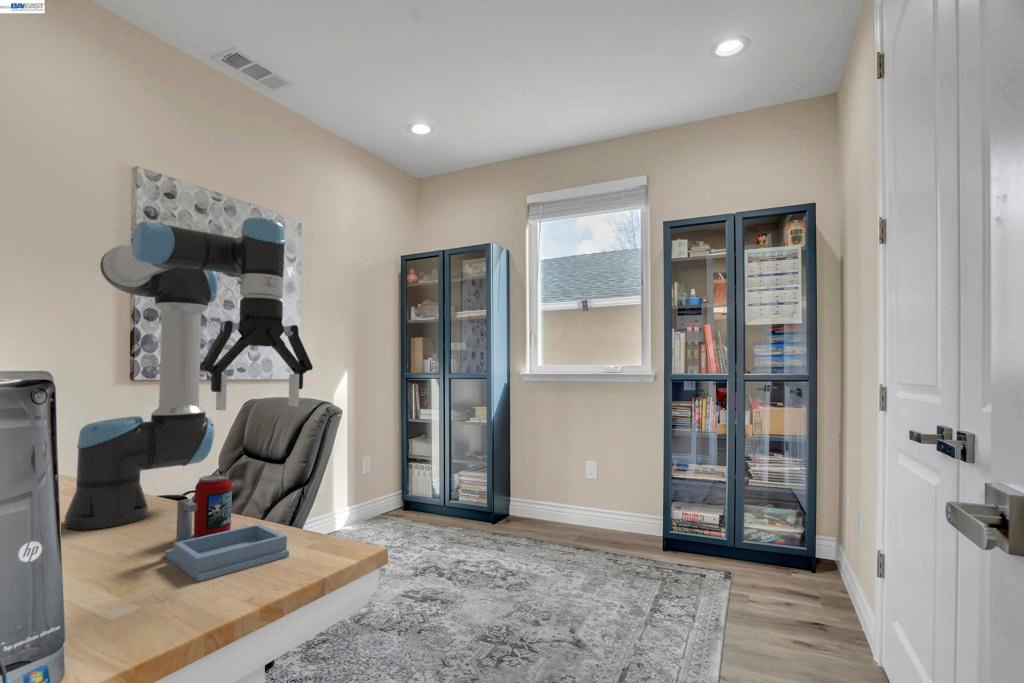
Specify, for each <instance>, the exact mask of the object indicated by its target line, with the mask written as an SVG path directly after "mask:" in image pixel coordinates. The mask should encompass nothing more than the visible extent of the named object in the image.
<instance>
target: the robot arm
mask: <svg viewBox="0 0 1024 683" xmlns="http://www.w3.org/2000/svg"><path fill="white" fill-rule="evenodd" d="M240 234H241V236H239V237H234V236H228V235H223V234H218V233H217V234H216V233H211V232H206V231H200V230H196V229H191V228H185V227H179V226H174V225H169V224H165V223H163V222H150V221H140V222H138V223H137V224H136V225H135V228H134V230H133V234H132V243H130V244H129V245H128V244H127V245H126V244H125V245H119V246H115V247H112V248H111V249H109V250H108V251H107V252H105V254H103V255H102V257H101V260H100V264H99V265H100V266H99V268H100V272H101V274H102V276H103V277H104V279H105V280H106V281H107V283H109V284H110V285H111V286H113V287H114V288H116V289H118V290H119V291H121V292H124V293H127V294H130V295H134V296H138V297H147V298H154V306H155V307H156V309H158V310H159V311H160V312H161V329H160V331H161V332H160V360H159V362H160V364H159V366H160V367H159V392H158V395H159V396H158V397H159V398H158V407H157V408H155V410H154V411H153V412H151V414H150V421H144V419H143V417H142V416H139V415H137V416H126V417H125V416H124V417H117V418H111V419H104V420H100V421H96V422H95V421H94V422H92V423H87V424H86V425H84V426H83V427H81V428H80V431H79V435H78V444H77V445H76V448H77V467H76V485H75V486H76V488H75V493H74V494H73V496H72V499H71V501H70V504H69V506H68V508H67V511H66V513H65V515H64V523H63V525H64V526H63V527H64V528H65V526H66V528H65V529H67V528H69V529H68V530H78V531H81V530H84V531H85V530H94V529H95V530H96V529H104V528H105V529H106V528H110V527H111V528H112V527H117V526H122V525H125V524H130V523H133V522H137V521H140V520H142V519H144V518H145V517H147V516H148V514H149V512H148V511H149V506H148V504H149V503H148V501H147V499H146V496H145V493H144V491H143V488H142V485H141V471H146V470H148V471H149V470H155V469H162V468H171V467H177V466H179V467H180V466H181V467H186V466H188V465H193V464H199V463H201V462H203V461H204V460H206V458H207V457H208V455H209V454H210V452H211V450H212V448H213V444H214V438H215V427H214V422H213V420H212V418H210V417H208V416H206V410H205V409H204V408H203V407H202V406H200V381H201V380H200V379H201V378H200V376H201V374H200V373H201V372H200V371H204V372H207V373H209V374H210V378H211V381H210V391H211V392H214V393H216V394H215V396H216V397H215V410H216V411H221V412H223V411H227V392H228V391H227V390H228V389H227V385H228V384H227V382H228V381H227V380H228V377H227V376H228V374H223V372H224V371H225V370H226V369H227V368H228V367H229V366H230V365H231V364H232V363H233V362H234V361H235V359H237V358H238V356H239V355H241V353H242V352H244V351H245V349H246V348H248V347H249V346H250V347H259V346H260V347H264V348H265V347H267V348H268V347H271V348H272V349H274V350H275V351H276V353H277V354H278V355H279V356H280V357H281V359H282V360H283V361H284V362H285V364H286V365H287V366H288V367H289V369H291V371H292V373H289V376H288V377H289V378H288V406H289V407H300V406H299V405H300V404H299V403H300V402H299V401H300V398H299V397H300V396H299V395H300V390H302V389H303V387H304V375H305V374H306V372H309V371H312V370H313V368H314V366H313V364H312V362H311V359H310V357H309V355H308V354H307V353H308V352H307V351H306V349H305V347H304V344H303V342H302V340H301V338H300V335H299V327H298V325H296V324H292V325H285V326H284V325H283V314H284V312H283V311H284V303H283V301H282V300H281V299H282V298H283V297H284V268H285V266H284V264H285V244H286V240H285V227H284V225H283V224H282V223H281V222H279V221H277V220H274V219H271V218H265V217H248V218H245V219H244V220H243V222H242V227H241V231H240ZM217 273H222V274H223V275H225V276H226V277H230V278H240V291H239V294H240V296H242V298H241V299H240V300H239V321H238V322H233V321H232V320H223V321H221V323H220V327H219V333H218V335H217V336H216V338H215V340H214V342H213V343H212V345H211V347H210V348H209V350H208V352H207V353H206V355H205V357H204V358H203V360H202V361H201V335H202V334H201V333H202V330H201V329H202V314H203V313H204V312H205V311H206V310H208V309H209V304H210V303H213V302H214V301H215V300H216V298H217V292H218V290H219V289H218V288H219V287H218V277H217ZM236 330H237V331H238V333H239V334H240V338H239V339H238V340H236V341H235V344H234V345H233V346H232V347H231V348H230V349H229V350H227V352H226V353H225V354H224V355H223V356H222V357H221V358H220V359H219V360H218V358H219V356H220V355H221V353H222V351H223V350H224V348H225V346H226V344H227V343H228V341H229V339H230V338H231V335H232V334H234V333H235V332H236ZM283 333H284V335H285V337H287V340H288V342H289V344H290V346H291V348H292V351H293V353H294V354H293V353H292V352H291V350H290V349H289V347H287V346H286V343H285V341H284V340H283V339H282V338H281V336H282V335H283ZM294 355H295V356H294ZM217 360H218V361H217ZM216 361H217V362H216Z"/></svg>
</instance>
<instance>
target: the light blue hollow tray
mask: <svg viewBox="0 0 1024 683" xmlns="http://www.w3.org/2000/svg"><path fill="white" fill-rule="evenodd" d="M193 501H194V500H193V499H190V498H189V499H186V498H185V499H182V500H180V499H179V500H178V501H177V506H176V507H177V508H176V509H177V512H176V515H177V516H176V535H175V536H176V537H175V538H176V540H175V542H173V548H170V549H166V550H164V557H165V558H166V559H168V560H169V561H170V562H171V563H173V564H174V565H175V566H177V567H179V568H180V569H181V570H182V571H183V572H185V573H186V574H188V576H190V577H192V578H193V579H194V580H196V581H197V582H198V583H200V582H204V581H206V580H207V581H208V580H210V579H214V578H218V577H221V576H222V577H223V576H224V575H227V574H232V573H234V572H239V571H243V570H246V569H250V568H252V567H253V568H254V567H257V566H260V565H264V564H266V563H271V562H274V561H277V560H281V559H284V558H289V557H290V550H288V549H287V545H288V542H287V539H288V536H287V535H285V534H283V533H281V532H278V531H276V530H274V529H272V528H269V527H268V526H266V525H264V524H261V523H256V524H253V525H248V526H247V525H246V526H242V527H239V528H235V529H230V530H229V531H224V532H220V533H215V534H211V535H207V536H202V537H199V536H197V537H195V538H194V537H192V535H193V534H192V531H193V528H192V527H193V513H194V511H197V504H196V503H195V501H194V502H193Z"/></svg>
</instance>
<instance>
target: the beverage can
mask: <svg viewBox="0 0 1024 683" xmlns="http://www.w3.org/2000/svg"><path fill="white" fill-rule="evenodd" d="M194 488H195V489H194V490H195V492H194V503H196V504H197V511H194V512H193V513H194V514H193V515H194V517H193V518H194V519H193V523H194V524H193V534H194V535H195V536H197V537H202V536H207V535H211V534H215V533H220V532H224V531H229V530H231V527H232V526H231V524H232V523H231V522H232V502H233V501H232V498H233V497H232V496H233V495H232V494H233V489H232V488H233V483H232V481H231V479H230V478H229V475H227V474H212V475H211V474H210V475H206V476H205V475H204V476H201V477H199V480H198V481H197V483H196V485H195V487H194Z"/></svg>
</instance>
